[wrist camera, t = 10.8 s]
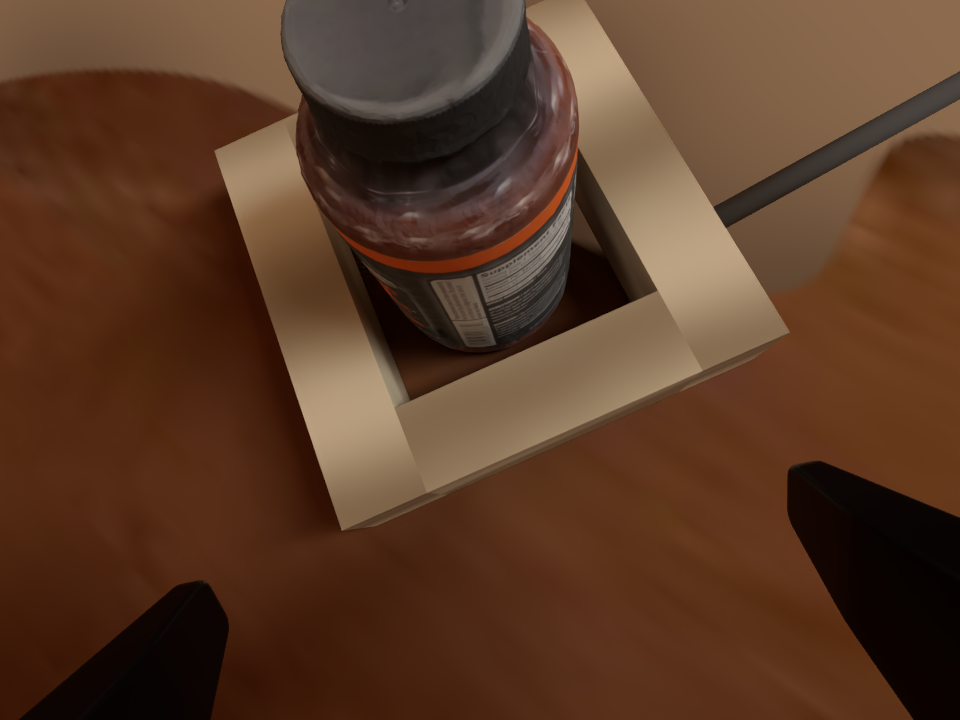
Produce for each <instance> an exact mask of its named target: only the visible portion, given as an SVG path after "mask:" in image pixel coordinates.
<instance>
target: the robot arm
mask: <svg viewBox="0 0 960 720" xmlns="http://www.w3.org/2000/svg"><path fill="white" fill-rule="evenodd" d="M787 511H788V516H789V520H790V522H791V525H792V527H793V528H794V530H795V532H796V534H797V536H798V537H799V539H800V541H801V543H802V545H803V547H804V548H805V550H806V552H807V554H808V556H809V557H810V559H811V561H812V563H813V565H814V566H815V568H816V570H817V572H818V574H819V575H820V577H821V579H822V581H823V583H824V584H825V586H826V588H827V590H828V592H829V593H830V595H831V597H832V599H833V601H834V603H835V604H836V606H837V608H838V609H839V611H840V613H841V615H842V616H843V618H844V620H845V621H846V623H847V624H848V626H849V627H850V629H851V630H852V632H853V633H854V635H855V636H856V638H857V639H858V641H859V642H860V644H861V645H862V646H863V648H864V649H865V651H866V652H867V654H868V655H869V656H870V658H871V659H872V661H873V662H874V664H875V665H876V666H877V668H878V669H879V671H880V672H881V674H882V675H883V677H884V678H885V679H886V681H887V682H888V684H889V685H890V687H891V688H892V689H893V691H894V692H895V694H896V695H897V697H898V698H899V699H900V701H901V702H902V704H903V705H904V707H905V708H906V709H907V711H908V712H909V714H910V715H911V717H912V718H913V720H960V518H959V517H957V516H954V515H952V514H949V513H947V512H945V511H942V510H940V509H937V508H935V507H932V506H930V505H927V504H925V503H923V502H920V501H918V500H915V499H913V498H910V497H908V496H905V495H903V494H901V493H898V492H896V491H893V490H891V489H888V488H886V487H883V486H881V485H879V484H876V483H874V482H871V481H869V480H866V479H864V478H861V477H859V476H857V475H854V474H852V473H849V472H847V471H844V470H842V469H839V468H837V467H835V466H832V465H830V464H827V463H825V462H822V461H811V462H806V463H800V464H795V465H793V466H791V467H790V468H789V470H788V479H787ZM228 631H229V624H228V618H227V615H226V613H225V612H224V610H223V608H222V606H221V604H220V603H219V601H218V599H217V597H216V595H215V594H214V592H213V590H212V588H211V586H210V585H209V584H208V583H207V582H205V581H194V582H189V583H184V584H180V585H178V586H176V587H174V588H173V589H172V590H171V591H170V592H168V593H167V594H166V595H165V596H164V597H162V598H161V599H160V600H159V601H158V602H157V603H155V604H154V605H153V606H152V607H151V608H149V609H148V610H147V611H146V612H145V613H144V614H142V615H141V616H140V617H139V618H138V619H137V620H135V621H134V622H133V623H132V624H131V625H129V626H128V627H127V628H126V629H125V630H124V631H122V632H121V633H120V634H119V635H118V636H117V637H115V638H114V639H113V640H112V641H111V642H109V643H108V644H107V645H106V646H105V647H104V648H102V649H101V650H100V651H99V652H98V653H97V654H95V655H94V656H93V657H92V658H91V659H89V660H88V661H87V662H86V663H85V664H84V665H82V666H81V667H80V668H79V669H78V670H77V671H75V672H74V673H73V674H72V675H71V676H69V677H68V678H67V679H66V680H65V681H64V682H62V683H61V684H60V685H59V686H58V687H57V688H55V689H54V690H53V691H52V692H51V693H49V694H48V695H47V696H46V697H45V698H44V699H42V700H41V701H40V702H39V703H38V704H36V705H35V706H34V707H33V708H32V709H31V710H29V711H28V712H27V713H26V714H25V715H24V716H22V717H21V718H20V719H19V720H210V719H211V715H212V710H213V705H214V700H215V695H216V691H217V686H218V681H219V676H220V671H221V666H222V661H223V657H224V652H225V647H226V642H227V637H228Z"/></svg>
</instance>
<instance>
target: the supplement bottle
mask: <svg viewBox="0 0 960 720" xmlns="http://www.w3.org/2000/svg"><path fill="white" fill-rule="evenodd" d="M281 19H282V20H281V43H282V49H283V53H284V58H285V61H286V63H287V65H288V68H289V70H290V72H291V74H292V76H293V78H294V80H295V82H296V84H297V86H298V88H299V89H300V91H301V93H302V94H303V95H302V98H301V103H300V105H299V108H298V117H297V121H296V135H295V136H296V138H295V140H296V150H297V151H296V155H297V157H298V160H299V165H300V169H301V175H302V177H303V179H304V181H305V183H306V185H307V187H308V189H309V191H310V193H311V195H312V197H313V200H314V201H315V202H316V203H317V205H318V207H319V208H320V210H321V211H322V213H323V214H324V215H325V216H326V218H327V219H328V220H329V221H330V222H331V223H332V225H333V226H334V227H335V228H336V229H337V230H338V232H339V234H340V236H341V237H342V238H343V239H344V240H345V241H346V243H347V244H348V245H349V247H350V248H351V249H352V250H353V251H354V253H355V254H356V255H357V256H358V257H359V259H360V260H361V261H362V263H363V264H364V265H365V266H366V267H367V268H368V270H369V271H370V272H371V274H373V275H374V277H375V278H376V279H377V280H378V281H379V283H380V284H381V286H382V287H383V288H384V289H385V290H386V292H387V293H388V294H389V296H390V297H391V299H392V300H393V301H394V302H395V303H396V304H397V305H398V307H399V308H400V310H401V311H402V312H403V314H404V315H405V316H406V317H407V318H408V319H409V320H410V321H411V322H412V323H413V325H415V326H416V327H417V328H418V329H419V330H420V331H422V332H423V333H424V334H425V335H427V336H428V337H429V338H431V339H432V340H434V341H436V342H438V343H440V344H442V345H444V346H446V347H448V348H451V349H454V350H459V351H463V352H491V351H497V350H502V349H506V348H509V347H510V346H514V345H516V344H518V343H520V342H522V341H524V340H525V339H527V338H528V337H530V336H531V335H533V334H534V333H535V332H536V331H538V330H539V329H540V328H541V327H542V326H543V325H544V324H545V323H546V322H547V321H548V319H549V318H550V317H551V315H552V314H553V313H554V311H555V309H556V308H557V306H558V304H559V302H560V300H561V298H562V296H563V294H564V290H565V285H566V281H567V276H568V271H569V264H570V249H571V237H572V223H573V212H574V197H575V185H576V171H577V151H578V138H579V113H578V103H577V96H576V91H575V86H574V82H573V79H572V76H571V73H570V71H569V69H568V66H567V64H566V62H565V60H564V58H563V57H562V55H561V53H560V52H559V50H558V48H557V47H556V45H555V44H554V43H553V41H552V40H551V39H550V38H549V37H548V35H547V34H546V33H545V32H544V31H543V30H542V29H541V28H540V27H539V26H538V25H536V24H535V23H534V22H533V21H531V20H530V19H529V18H528V17H526V6H525V0H286V2H285V6H284V9H283V13H282V16H281Z"/></svg>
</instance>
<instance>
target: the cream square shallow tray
mask: <svg viewBox="0 0 960 720" xmlns="http://www.w3.org/2000/svg"><path fill="white" fill-rule="evenodd" d="M526 17H528V18H529V19H530V20H531V21H533V22H534V23H535V24H536V25H538V26H539V27H540V28H541V29H542V30H543V31H544V32H545V33H546V34H547V35H548V37H549V38H550V39H551V40H552V41H553V43H554V44H555V45H556V47H557V48H558V50H559V52H560V53H561V55H562V57H563V58H564V60H565V62H566V64H567V66H568V69H569V71H570V73H571V76H572V79H573V82H574V86H575V91H576V96H577V103H578V113H579V138H578V151H577V171H576V185H575V197H574V198H575V200H576V202H577V203H578V206H579V207H580V209H581V211H582V213H583V215H584V216H585V219H586V220H587V222H588V224H589V226H590V228H591V229H592V231H593V233H594V235H595V237H596V239H597V241H598V243H599V245H600V246H601V248H602V250H603V252H604V254H605V256H606V258H607V259H608V261H609V263H610V265H611V267H612V269H613V271H614V272H615V274H616V276H617V278H618V280H619V282H620V284H621V285H622V287H623V289H624V291H625V293H626V295H627V297H628V298H629V300H630V302H631V303H629V304H627V305H625V306H623V307H620V308H618V309H616V310H614V311H611V312H609V313H607V314H605V315H602V316H600V317H598V318H596V319H593V320H591V321H589V322H587V323H585V324H582V325H580V326H578V327H576V328H573V329H571V330H569V331H567V332H564V333H562V334H560V335H558V336H555V337H553V338H551V339H549V340H546V341H544V342H542V343H540V344H537V345H535V346H533V347H531V348H528V349H526V350H524V351H522V352H519V353H517V354H515V355H513V356H511V357H508V358H506V359H504V360H502V361H499V362H497V363H495V364H493V365H490V366H488V367H486V368H484V369H481V370H479V371H477V372H475V373H472V374H470V375H468V376H466V377H463V378H461V379H459V380H457V381H454V382H452V383H450V384H448V385H445V386H443V387H441V388H439V389H437V390H434V391H432V392H430V393H428V394H425V395H423V396H421V397H419V398H416V399H414V400H412V401H410V399H409V396H408V394H407V391H406V389H405V386H404V384H403V381H402V378H401V376H400V373H399V371H398V368H397V366H396V363H395V361H394V358H393V356H392V353H391V351H390V348H389V345H388V343H387V340H386V338H385V335H384V333H383V330H382V328H381V325H380V323H379V320H378V318H377V315H376V313H375V310H374V307H373V305H372V302H371V300H370V297H369V295H368V292H367V290H366V287H365V285H364V282H363V280H362V277H361V275H360V272H359V269H358V267H357V264H356V262H355V259H354V257H353V254H352V252H351V249H350V247H349V245H348V244H347V243H346V241H345V240H344V239H343V238H342V237H341V236H340V234H339V232H338V230H337V229H336V228H335V227H334V226H333V225H332V223H331V222H330V221H329V220H328V219H327V218H326V216H325V215H324V214H323V213H322V211H321V210H320V208H319V207H318V205H317V203H316V202H315V201H314V200H313V197H312V195H311V193H310V191H309V189H308V187H307V185H306V183H305V181H304V179H303V177H302V175H301V169H300V165H299V160H298V157H297V155H296V151H297V150H296V140H295V138H296V136H295V135H296V121H297V117H298V113H296V114H294V115H292V116H290V117H288V118H285V119H283V120H281V121H279V122H277V123H274V124H272V125H270V126H268V127H266V128H263V129H261V130H259V131H257V132H255V133H252V134H250V135H248V136H246V137H244V138H242V139H239V140H237V141H235V142H233V143H231V144H228V145H226V146H224V147H222V148H220V149H217V150H215V154H216V157H217V160H218V163H219V166H220V169H221V172H222V175H223V178H224V181H225V184H226V187H227V190H228V193H229V196H230V199H231V202H232V205H233V208H234V211H235V214H236V217H237V220H238V223H239V225H240V228H241V231H242V234H243V237H244V240H245V243H246V246H247V249H248V252H249V255H250V258H251V261H252V264H253V267H254V270H255V273H256V276H257V279H258V282H259V285H260V288H261V291H262V294H263V297H264V300H265V303H266V306H267V309H268V312H269V315H270V318H271V321H272V324H273V327H274V330H275V333H276V336H277V339H278V342H279V345H280V348H281V351H282V354H283V357H284V360H285V363H286V366H287V369H288V372H289V375H290V378H291V381H292V383H293V386H294V389H295V392H296V395H297V398H298V401H299V404H300V407H301V410H302V413H303V416H304V419H305V422H306V425H307V428H308V431H309V434H310V437H311V440H312V443H313V446H314V449H315V452H316V455H317V458H318V461H319V464H320V467H321V470H322V473H323V476H324V479H325V482H326V485H327V488H328V491H329V494H330V497H331V500H332V503H333V506H334V509H335V512H336V515H337V518H338V521H339V524H340V527H341V530H342V531H343V530H351V529H358V528H366V527H374V526H377V525H380V524H382V523H384V522H386V521H389V520H391V519H393V518H395V517H398V516H400V515H402V514H405V513H407V512H409V511H411V510H414V509H416V508H418V507H420V506H423V505H425V504H427V503H429V502H432V501H434V500H436V499H438V498H441V497H443V496H445V495H447V494H450V493H452V492H454V491H456V490H459V489H461V488H463V487H466V486H468V485H470V484H472V483H475V482H477V481H479V480H481V479H484V478H486V477H488V476H490V475H493V474H495V473H497V472H499V471H502V470H504V469H506V468H508V467H511V466H513V465H515V464H518V463H520V462H522V461H524V460H527V459H529V458H531V457H533V456H536V455H538V454H540V453H542V452H545V451H547V450H549V449H551V448H554V447H556V446H558V445H560V444H563V443H565V442H567V441H570V440H572V439H574V438H576V437H579V436H581V435H583V434H585V433H588V432H590V431H592V430H594V429H597V428H599V427H601V426H603V425H606V424H608V423H610V422H612V421H615V420H617V419H619V418H621V417H624V416H626V415H628V414H631V413H633V412H635V411H637V410H640V409H642V408H644V407H646V406H649V405H651V404H653V403H655V402H658V401H660V400H662V399H664V398H667V397H669V396H671V395H673V394H676V393H678V392H680V391H683V390H685V389H687V388H689V387H692V386H694V385H696V384H698V383H701V382H703V381H705V380H707V379H710V378H712V377H714V376H716V375H719V374H721V373H723V372H725V371H728V370H730V369H732V368H734V367H737V366H739V365H741V364H744V363H746V362H748V361H750V360H752V359H754V358H755V357H757V356H758V355H759V354H761V353H762V352H763V351H765V350H766V349H768V348H769V347H770V346H772V345H773V344H774V343H776V342H777V341H779V340H780V339H781V338H783V337H784V336H785V335H787V334H788V333H790V332H789V330H788V328H787V327H786V325H785V323H784V322H783V320H782V319H781V317H780V315H779V314H778V312H777V310H776V309H775V307H774V306H773V304H772V302H771V301H770V299H769V298H768V296H767V294H766V293H765V291H764V289H763V288H762V286H761V285H760V283H759V281H758V280H757V278H756V276H755V275H754V273H753V272H752V270H751V269H750V267H749V266H748V264H747V262H746V260H745V259H744V257H743V255H742V254H741V252H740V251H739V249H738V247H737V246H736V244H735V243H734V241H733V239H732V238H731V236H730V234H729V233H728V231H727V229H726V228H725V226H724V225H723V223H722V221H721V220H720V218H719V216H718V215H717V213H716V212H715V210H714V208H713V207H712V205H711V204H710V202H709V200H708V199H707V197H706V196H705V194H704V192H703V191H702V189H701V187H700V186H699V184H698V182H697V181H696V179H695V178H694V176H693V174H692V173H691V171H690V169H689V168H688V166H687V165H686V163H685V161H684V160H683V158H682V157H681V155H680V153H679V152H678V150H677V148H676V147H675V145H674V143H673V142H672V140H671V139H670V137H669V135H668V134H667V132H666V131H665V129H664V127H663V126H662V124H661V123H660V121H659V119H658V118H657V116H656V114H655V113H654V111H653V110H652V108H651V106H650V105H649V103H648V101H647V100H646V98H645V96H644V95H643V93H642V92H641V90H640V88H639V87H638V85H637V84H636V82H635V80H634V79H633V77H632V76H631V74H630V72H629V71H628V69H627V68H626V66H625V64H624V62H623V61H622V59H621V58H620V56H619V54H618V53H617V51H616V49H615V48H614V46H613V45H612V43H611V41H610V40H609V38H608V37H607V35H606V33H605V32H604V30H603V28H602V27H601V25H600V24H599V22H598V20H597V19H596V17H595V15H594V14H593V12H592V11H591V9H590V7H589V6H588V4H587V2H586V1H585V0H544V1H541V2H539V3H537V4H535V5H533V6H530V7H528V8H526Z"/></svg>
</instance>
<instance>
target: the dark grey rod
mask: <svg viewBox="0 0 960 720" xmlns="http://www.w3.org/2000/svg"><path fill="white" fill-rule="evenodd" d="M959 99H960V72H958V73H956V74H954V75H953V76H951V77H949V78H947V79H945V80H943V81H942V82H940V83H938V84H936V85H934V86H933V87H931V88H929V89H927V90H925V91H923V92H922V93H920V94H918V95H916V96H914V97H913V98H911V99H909V100H907V101H905V102H903V103H902V104H900V105H898V106H896V107H894V108H893V109H891V110H889V111H887V112H885V113H884V114H882V115H880V116H878V117H876V118H874V119H873V120H871V121H869V122H867V123H865V124H864V125H862V126H860V127H858V128H856V129H855V130H853V131H851V132H849V133H847V134H845V135H844V136H842V137H840V138H838V139H836V140H835V141H833V142H831V143H829V144H827V145H825V146H824V147H822V148H820V149H818V150H816V151H815V152H813V153H811V154H809V155H807V156H805V157H804V158H802V159H800V160H798V161H796V162H795V163H793V164H791V165H789V166H787V167H785V168H784V169H782V170H780V171H778V172H776V173H775V174H773V175H771V176H769V177H767V178H766V179H764V180H762V181H760V182H758V183H756V184H755V185H753V186H751V187H749V188H747V189H746V190H744V191H742V192H740V193H738V194H737V195H735V196H733V197H731V198H729V199H727V200H726V201H724V202H722V203H720V204H718V205H716V206H715V207H713V208H714V210H715V212H716V213H717V215H718V216H719V218H720V220H721V221H722V223H723V225H724V226H725V228H727V227H729V226H730V225H732V224H734V223H736V222H738V221H740V220H741V219H743V218H745V217H747V216H749V215H751V214H752V213H754V212H756V211H758V210H760V209H761V208H763V207H765V206H767V205H769V204H770V203H772V202H774V201H776V200H778V199H779V198H781V197H783V196H785V195H787V194H789V193H790V192H792V191H794V190H796V189H798V188H799V187H801V186H803V185H805V184H807V183H809V182H810V181H812V180H814V179H816V178H818V177H819V176H821V175H823V174H825V173H827V172H828V171H830V170H832V169H834V168H836V167H838V166H839V165H841V164H843V163H845V162H846V161H848V160H850V159H852V158H854V157H856V156H857V155H859V154H861V153H863V152H865V151H867V150H868V149H870V148H872V147H874V146H876V145H878V144H879V143H881V142H883V141H884V140H887V139H888V138H890V137H892V136H894V135H896V134H897V133H899V132H901V131H903V130H905V129H906V128H908V127H910V126H912V125H914V124H916V123H917V122H919V121H921V120H923V119H925V118H926V117H928V116H930V115H932V114H934V113H936V112H937V111H939V110H941V109H943V108H945V107H946V106H948V105H950V104H952V103H954V102H956V101H957V100H959Z"/></svg>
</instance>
